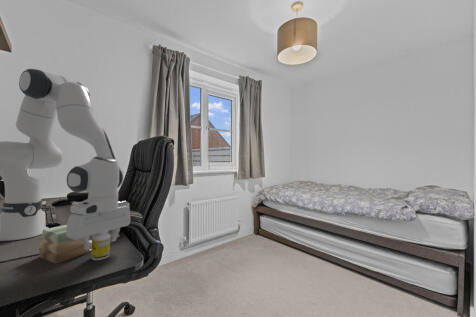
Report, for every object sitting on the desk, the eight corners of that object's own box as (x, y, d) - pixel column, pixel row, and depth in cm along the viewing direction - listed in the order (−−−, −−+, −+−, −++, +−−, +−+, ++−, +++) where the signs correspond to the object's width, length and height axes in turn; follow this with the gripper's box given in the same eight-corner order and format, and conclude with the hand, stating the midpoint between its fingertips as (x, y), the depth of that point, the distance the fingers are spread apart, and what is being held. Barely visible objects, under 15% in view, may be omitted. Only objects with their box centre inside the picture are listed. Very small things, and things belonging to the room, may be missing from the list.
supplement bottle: (89, 256, 75) (91, 227, 75) (108, 252, 78) (109, 225, 78) (91, 262, 70) (93, 231, 71) (111, 258, 74) (112, 228, 74)
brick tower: (38, 257, 73) (40, 229, 73) (72, 247, 82) (73, 222, 82) (56, 263, 68) (57, 234, 69) (88, 252, 78) (90, 226, 78)
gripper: (123, 199, 85) (121, 234, 85) (64, 207, 67) (61, 253, 66) (135, 200, 83) (133, 237, 83) (77, 210, 64) (74, 258, 64)
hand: (101, 244), depth 74 cm, fingers open, 7 cm apart
